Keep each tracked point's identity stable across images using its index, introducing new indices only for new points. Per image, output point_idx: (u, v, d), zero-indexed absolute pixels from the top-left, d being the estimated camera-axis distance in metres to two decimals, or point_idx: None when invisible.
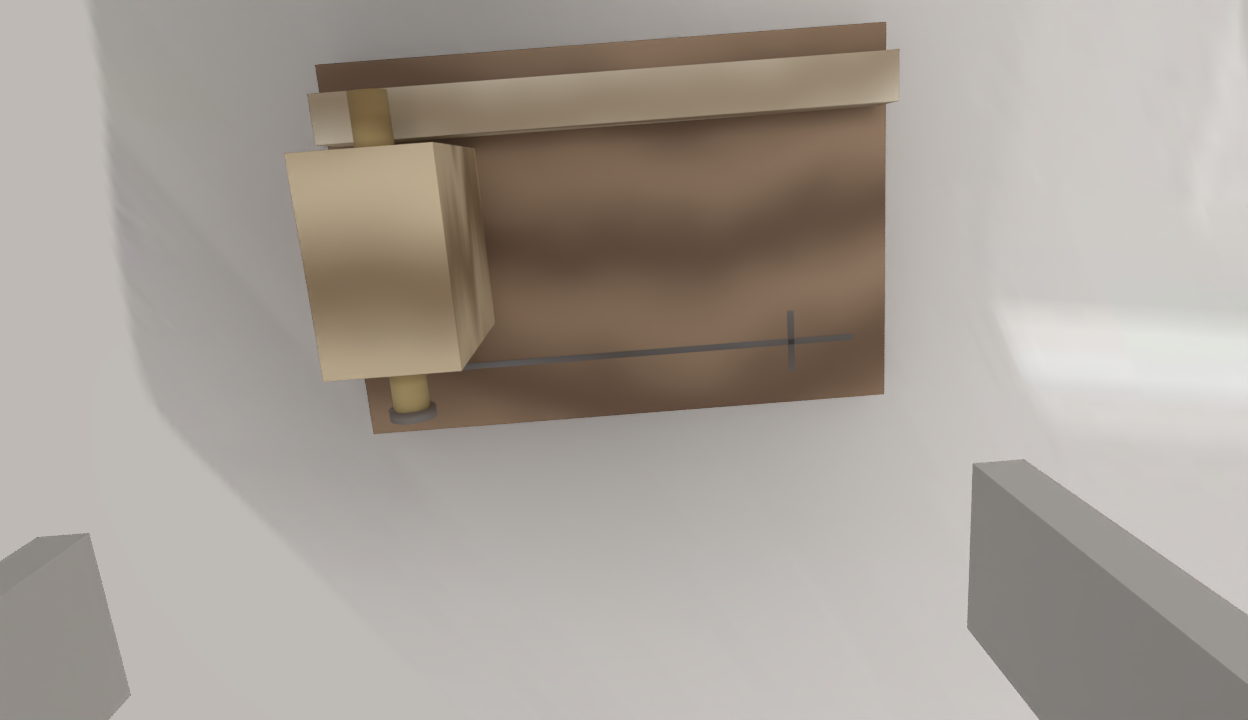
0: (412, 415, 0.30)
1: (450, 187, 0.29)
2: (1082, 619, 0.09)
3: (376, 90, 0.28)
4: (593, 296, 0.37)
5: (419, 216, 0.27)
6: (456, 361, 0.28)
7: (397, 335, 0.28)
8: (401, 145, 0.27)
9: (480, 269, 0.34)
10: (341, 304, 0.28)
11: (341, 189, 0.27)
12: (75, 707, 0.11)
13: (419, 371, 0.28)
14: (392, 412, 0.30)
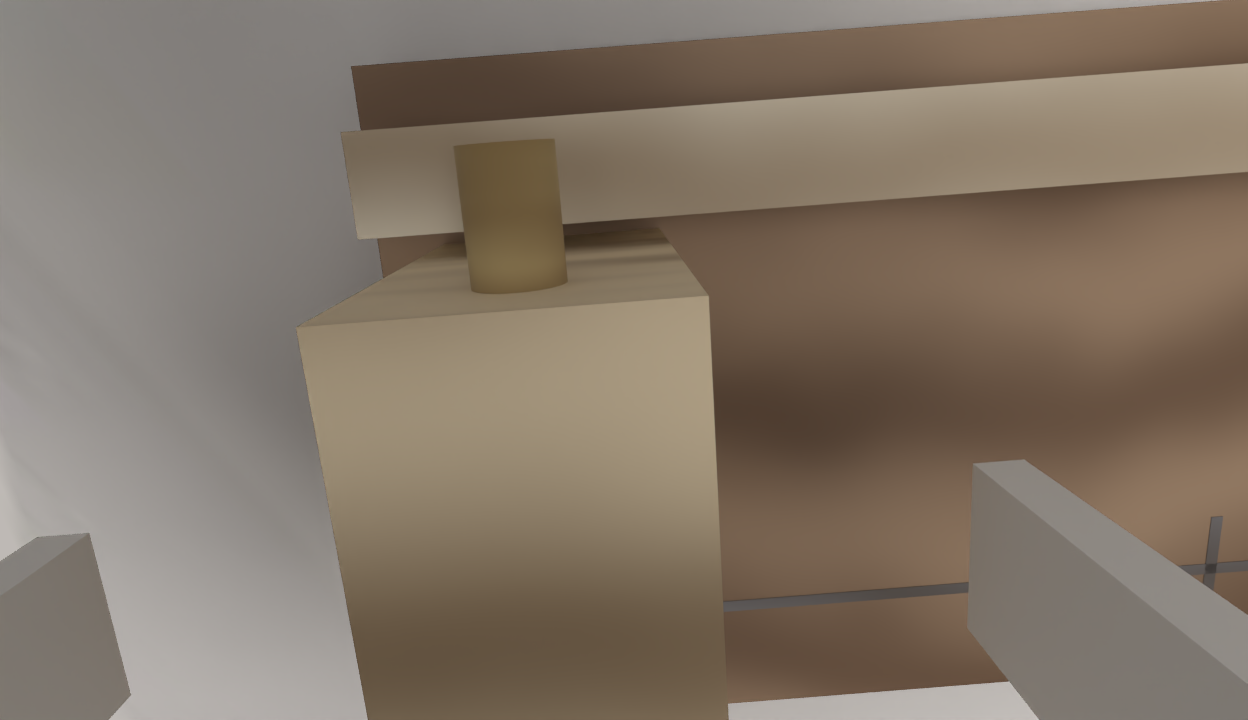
0: None
1: None
2: (1081, 619, 0.09)
3: (536, 144, 0.10)
4: (861, 494, 0.20)
5: (658, 485, 0.10)
6: None
7: None
8: (622, 305, 0.10)
9: None
10: (443, 693, 0.11)
11: (451, 420, 0.10)
12: (75, 707, 0.11)
13: None
14: None
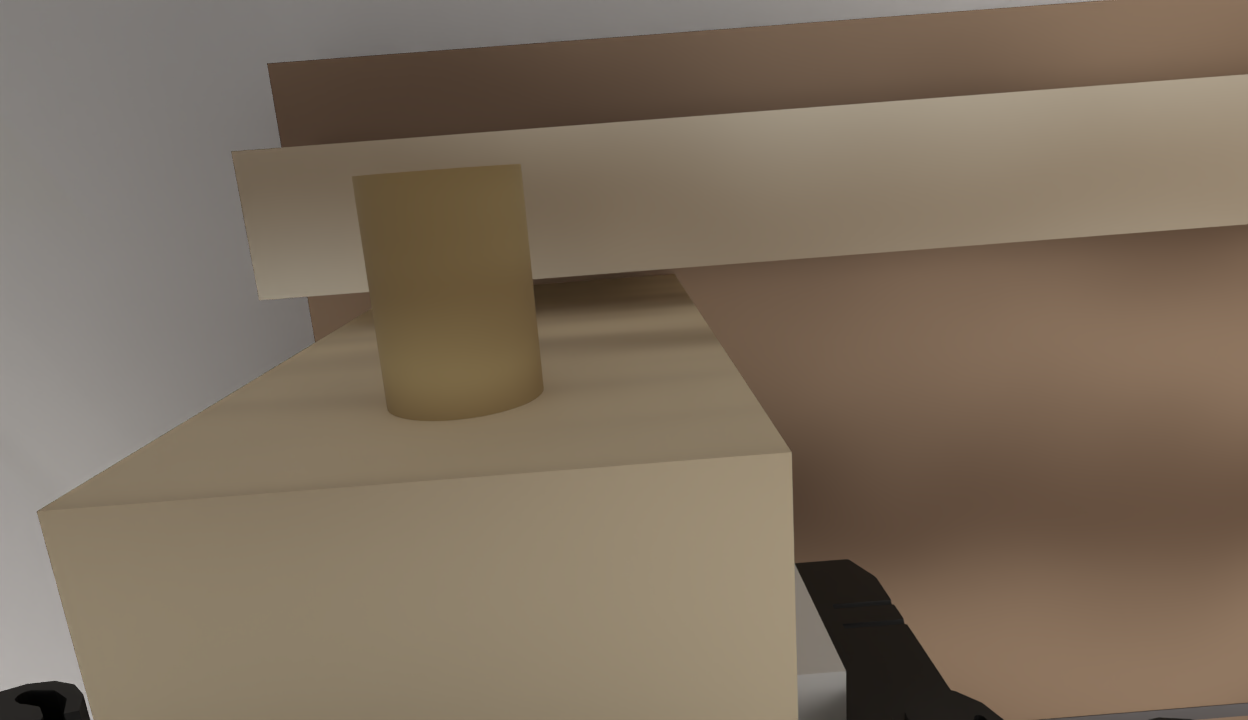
0: None
1: None
2: None
3: (486, 174, 0.06)
4: (931, 609, 0.16)
5: None
6: None
7: None
8: (635, 470, 0.05)
9: None
10: None
11: (328, 668, 0.06)
12: None
13: None
14: None
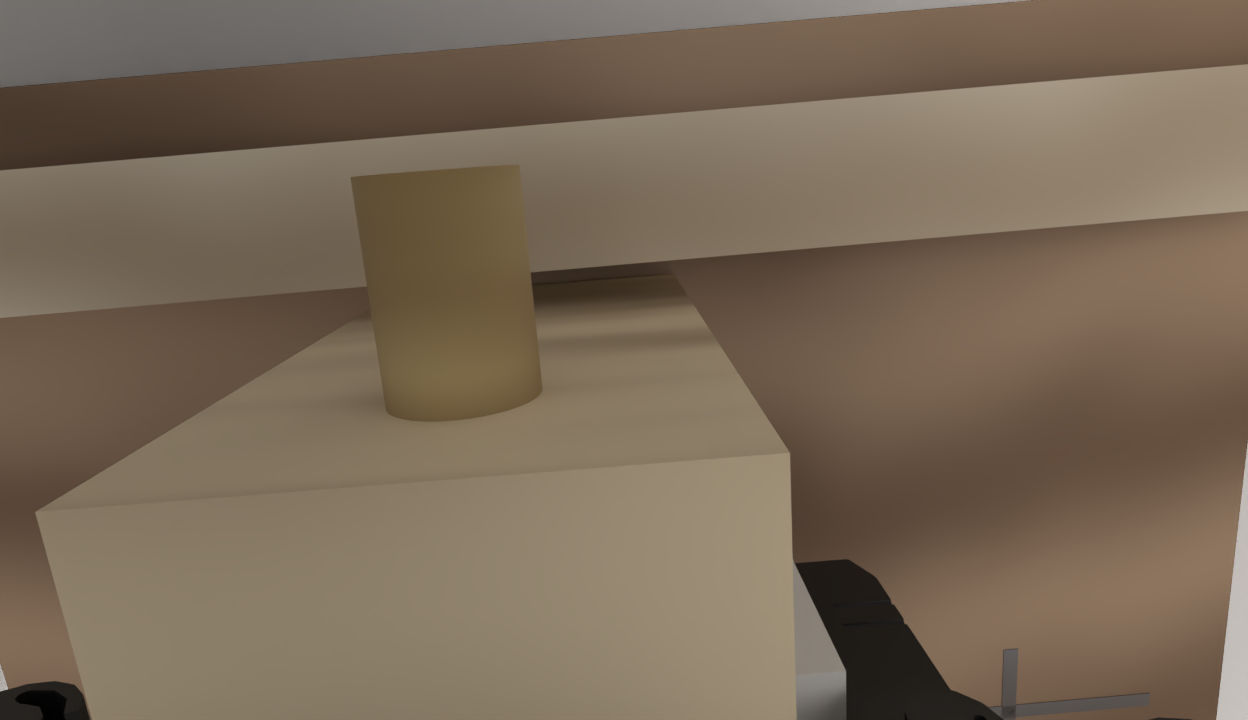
0: None
1: None
2: None
3: (485, 174, 0.06)
4: None
5: None
6: None
7: None
8: (633, 470, 0.05)
9: None
10: None
11: (327, 668, 0.06)
12: None
13: None
14: None
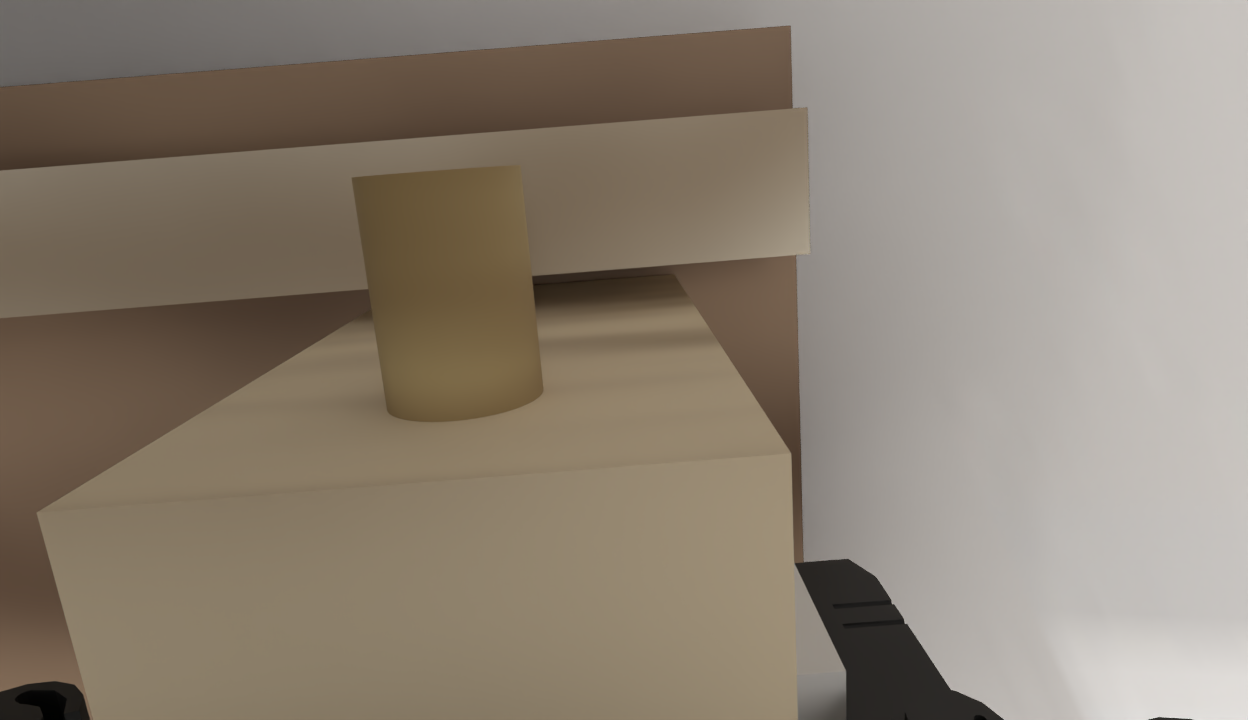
0: None
1: None
2: None
3: (486, 175, 0.06)
4: None
5: None
6: None
7: None
8: (635, 471, 0.05)
9: None
10: None
11: (329, 667, 0.06)
12: None
13: None
14: None
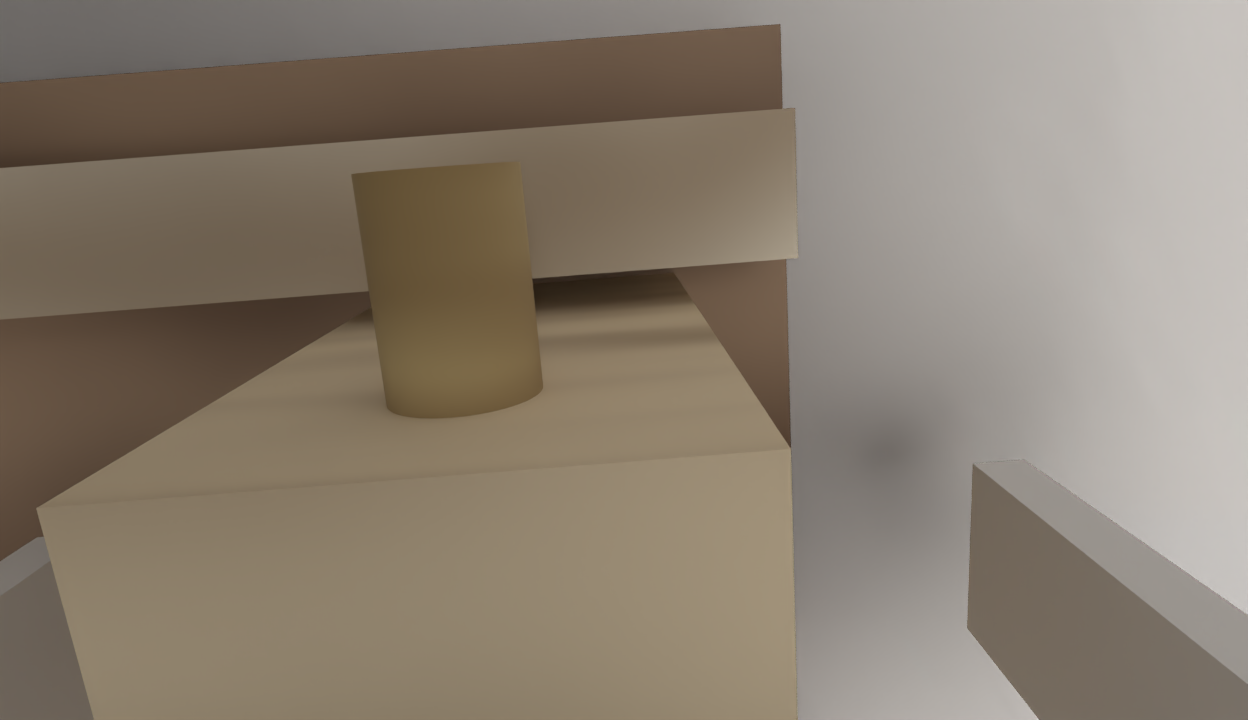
0: None
1: None
2: (1082, 620, 0.09)
3: (486, 171, 0.06)
4: None
5: None
6: None
7: None
8: (634, 467, 0.05)
9: None
10: None
11: (327, 664, 0.06)
12: (75, 707, 0.11)
13: None
14: None
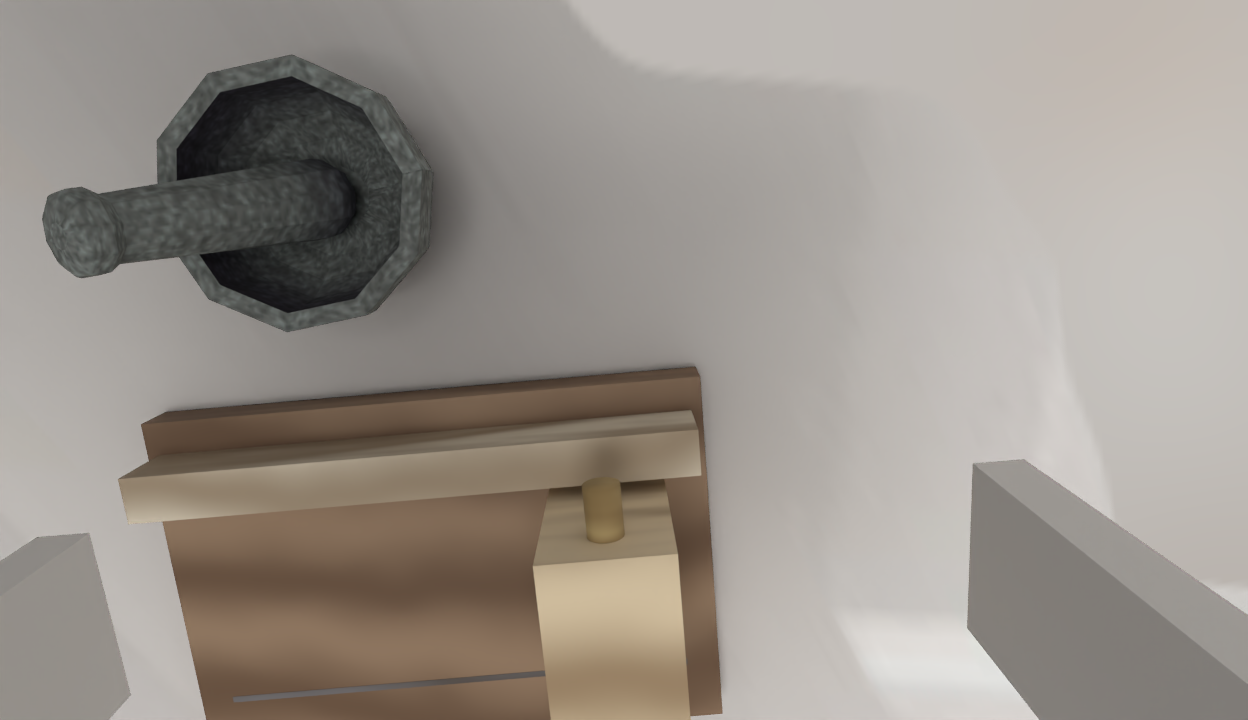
0: None
1: None
2: (1082, 619, 0.09)
3: (614, 489, 0.28)
4: (426, 628, 0.37)
5: (661, 619, 0.27)
6: None
7: None
8: (647, 557, 0.27)
9: None
10: (578, 699, 0.28)
11: (585, 597, 0.27)
12: (75, 707, 0.11)
13: None
14: None
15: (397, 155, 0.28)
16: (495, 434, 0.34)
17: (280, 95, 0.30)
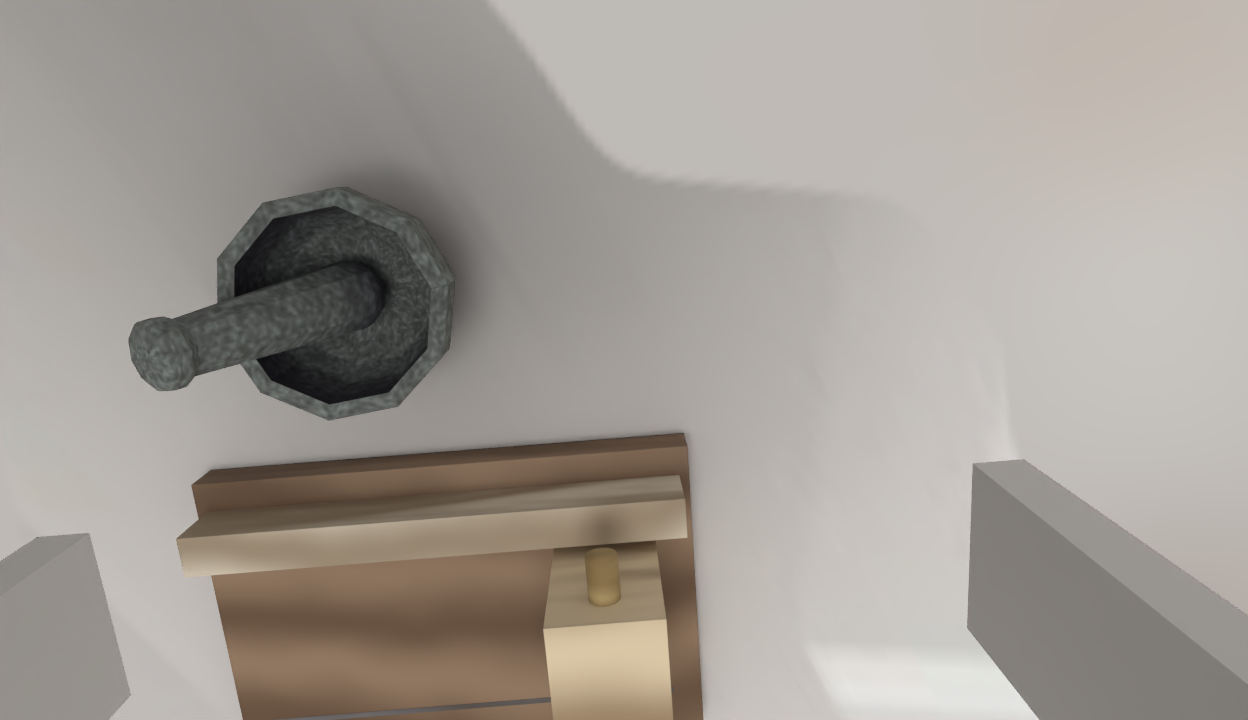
0: None
1: None
2: (1081, 620, 0.09)
3: (612, 561, 0.33)
4: (443, 660, 0.42)
5: (651, 672, 0.32)
6: None
7: None
8: (640, 622, 0.32)
9: None
10: None
11: (588, 654, 0.32)
12: (75, 707, 0.11)
13: None
14: None
15: (426, 272, 0.32)
16: (507, 497, 0.39)
17: (322, 212, 0.34)
